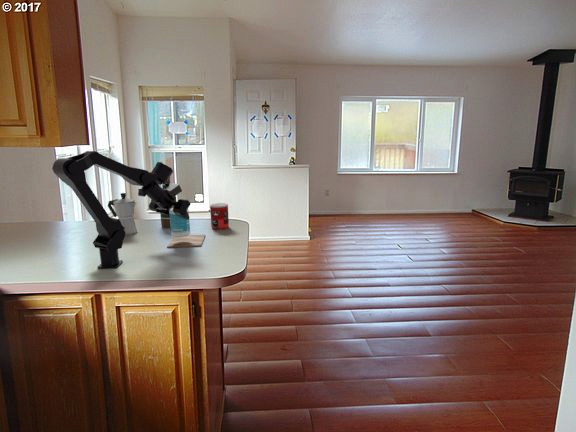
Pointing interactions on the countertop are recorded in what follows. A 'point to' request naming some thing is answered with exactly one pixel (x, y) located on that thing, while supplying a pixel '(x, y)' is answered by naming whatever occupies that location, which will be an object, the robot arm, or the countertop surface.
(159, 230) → the countertop surface
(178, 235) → the pill bottle
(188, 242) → the walnut board
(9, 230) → the countertop surface
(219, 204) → the canned food
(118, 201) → the coffee maker
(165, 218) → the beer bottle
